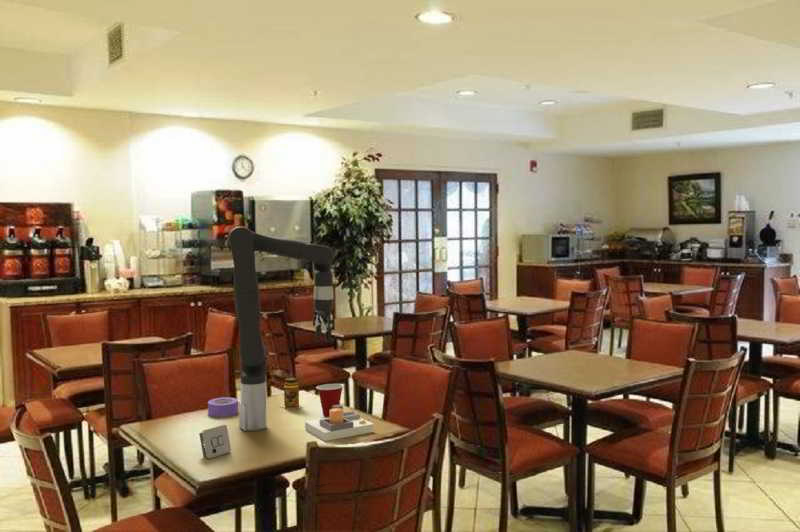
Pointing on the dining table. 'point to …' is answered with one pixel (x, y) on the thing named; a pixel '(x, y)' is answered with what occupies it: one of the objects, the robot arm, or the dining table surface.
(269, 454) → the dining table surface
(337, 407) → the breaker toggle
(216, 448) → the electrical switch
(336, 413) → the cap
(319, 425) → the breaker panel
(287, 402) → the condiment
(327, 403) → the plastic cup
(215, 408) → the tape roll
